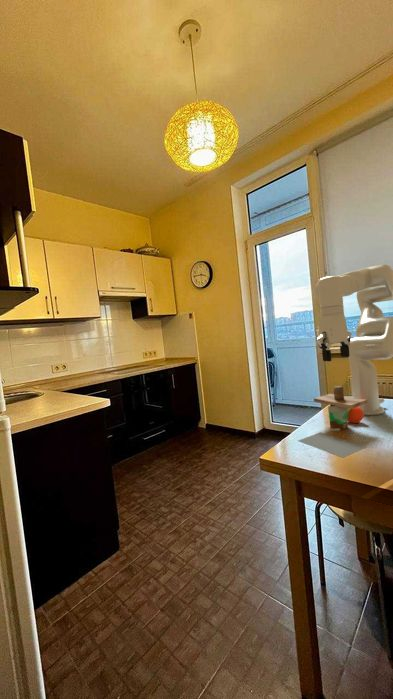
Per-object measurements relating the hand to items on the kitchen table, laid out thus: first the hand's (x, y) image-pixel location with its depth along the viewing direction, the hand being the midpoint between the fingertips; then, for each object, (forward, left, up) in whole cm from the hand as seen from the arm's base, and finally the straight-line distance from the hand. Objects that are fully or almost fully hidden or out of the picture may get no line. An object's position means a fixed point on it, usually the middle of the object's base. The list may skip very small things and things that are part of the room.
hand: (336, 358), depth 105 cm
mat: (+15, +7, -26) cm, 31 cm away
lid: (0, 0, -16) cm, 16 cm away
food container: (0, 0, -26) cm, 26 cm away
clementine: (-8, -1, -26) cm, 27 cm away
